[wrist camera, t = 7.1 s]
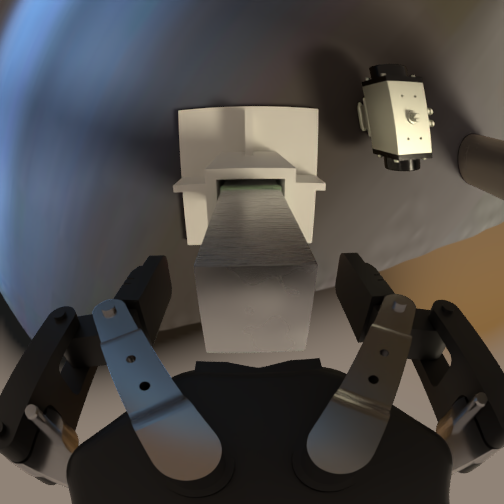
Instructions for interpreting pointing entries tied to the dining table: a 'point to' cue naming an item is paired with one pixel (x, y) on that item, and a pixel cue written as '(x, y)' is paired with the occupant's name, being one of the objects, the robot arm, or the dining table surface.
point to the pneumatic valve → (396, 117)
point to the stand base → (247, 158)
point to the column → (254, 272)
